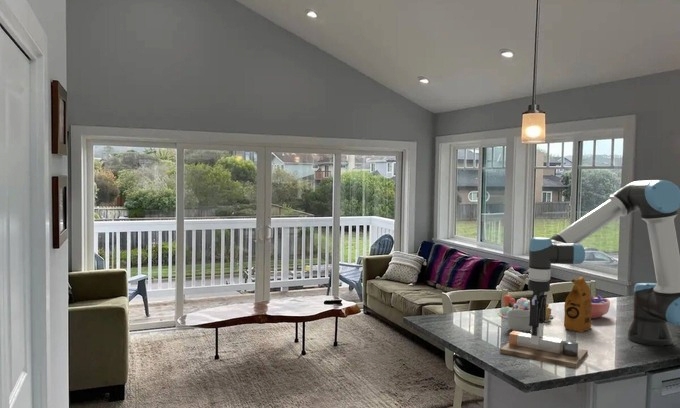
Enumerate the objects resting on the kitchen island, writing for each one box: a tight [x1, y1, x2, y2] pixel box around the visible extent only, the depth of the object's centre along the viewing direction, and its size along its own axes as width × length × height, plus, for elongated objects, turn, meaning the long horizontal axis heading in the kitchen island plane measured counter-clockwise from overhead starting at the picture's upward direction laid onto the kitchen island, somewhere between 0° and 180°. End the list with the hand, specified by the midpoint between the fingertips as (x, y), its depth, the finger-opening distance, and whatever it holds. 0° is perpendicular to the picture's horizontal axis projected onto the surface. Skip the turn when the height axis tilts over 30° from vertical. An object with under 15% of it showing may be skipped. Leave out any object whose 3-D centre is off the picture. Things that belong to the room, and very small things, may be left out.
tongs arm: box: [508, 331, 561, 354], centre depth 188 cm, size 18×2×4 cm, turn 53°
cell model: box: [591, 295, 611, 319], centre depth 241 cm, size 17×20×11 cm
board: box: [499, 342, 589, 369], centre depth 188 cm, size 26×18×2 cm
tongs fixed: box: [511, 330, 579, 357], centre depth 188 cm, size 24×5×4 cm, turn 53°
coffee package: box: [563, 276, 592, 333], centre depth 221 cm, size 10×12×22 cm
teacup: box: [507, 308, 531, 333], centre depth 218 cm, size 14×11×8 cm
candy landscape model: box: [497, 294, 554, 322], centre depth 242 cm, size 25×24×9 cm
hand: (536, 342), depth 189 cm, fingers open, 4 cm apart
